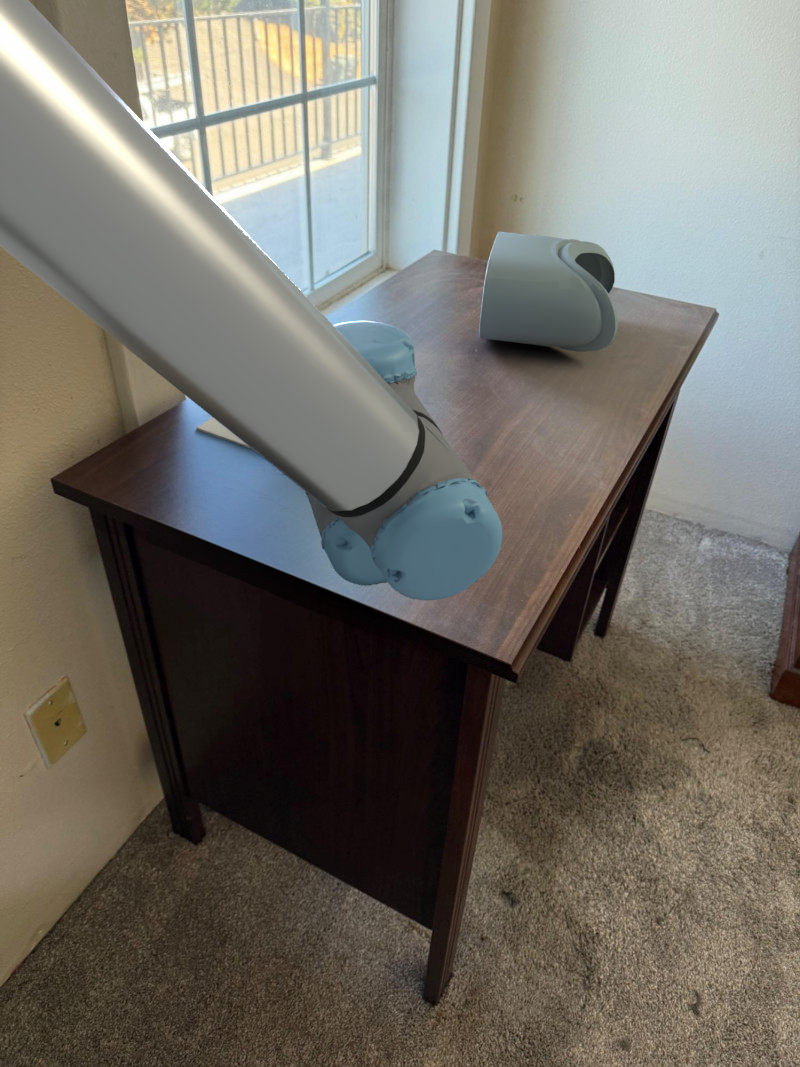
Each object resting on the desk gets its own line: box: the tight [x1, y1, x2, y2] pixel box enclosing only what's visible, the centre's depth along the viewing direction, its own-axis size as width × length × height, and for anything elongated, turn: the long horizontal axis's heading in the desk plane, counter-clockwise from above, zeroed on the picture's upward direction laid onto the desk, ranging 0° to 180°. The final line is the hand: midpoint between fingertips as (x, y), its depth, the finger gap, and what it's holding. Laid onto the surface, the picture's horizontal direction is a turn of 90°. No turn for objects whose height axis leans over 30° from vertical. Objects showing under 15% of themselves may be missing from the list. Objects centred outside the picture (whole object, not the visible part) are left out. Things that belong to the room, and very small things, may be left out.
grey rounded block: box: [478, 231, 619, 353], centre depth 111 cm, size 22×19×13 cm
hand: (290, 348), depth 86 cm, fingers closed on ink box, 5 cm apart
